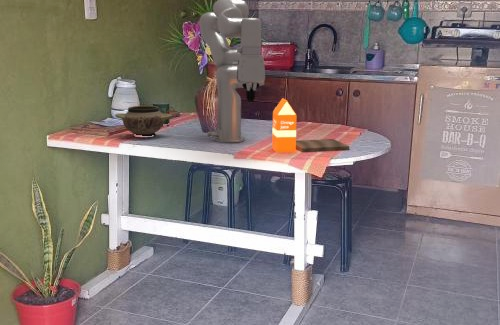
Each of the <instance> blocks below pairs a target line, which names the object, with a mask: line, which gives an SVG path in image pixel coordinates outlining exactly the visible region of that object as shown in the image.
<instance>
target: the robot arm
mask: <svg viewBox="0 0 500 325" xmlns="http://www.w3.org/2000/svg"><path fill="white" fill-rule="evenodd" d="M212 7H213V8H212V10H213V11H208V12H204V13H203V14H201V16H200V17H199V30H200V34H201V36H202V39H203V40H204V42H205V43H206V45H207V46H208V48H209V52H210V54H211V57H212V60H213V62H214V64H215V67H216V68H217V70H216V72H215V78H216V79H215V80H216V86H217V95H218V96H217V101H218V102H217V103H218V105H217V106H218V107H217V113H218V114H217V115H218V116H217V119H218V122H217V124H218V127H217V128H216V130H214V131H207V132H206V136H207V137H214V141H215V142H219V143H226V144H228V143H229V144H231V143H232V144H233V143H241V142H244V141H245V136H243V135H241V134H242V132H241V128H242V98H241V96H240V94H239V93H238V91H237V90H236V89H244V90H245V97H246V98H245V99H246V100H247V102H254V100H256V90H257V89H258V88H259V87H261V86H264V85H265V80H266V68H265V59H264V55H261V54H262V44H261V43H262V40H261V39H262V23H261V22H262V21H261V19H260V18H258V17H257V18H256V17H248V15H249V5H248V4H247V2H246V1H245V0H217V1H215V2H214V4H213V6H212ZM227 39H240V46H239V47H238V46H230V44H229V41H228V40H227Z"/></svg>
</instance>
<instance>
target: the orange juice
mask: <svg viewBox="0 0 500 325" xmlns="http://www.w3.org/2000/svg"><path fill="white" fill-rule="evenodd" d="M275 107H276V108H275ZM275 107H274V109H275V110H273V111H272V130H271V131H272V138H271V139H272V140H271V142H272V144H271V147H272V150H274V152H276V153H296V150H297V149H296V141H297V114H296V112H295V111H294V109H293V108H292V106H291V105H290V104H289V102H288V100H287V99H285V98H281V100H280V101H279V102H278V103H277V106H275Z"/></svg>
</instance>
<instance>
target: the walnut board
mask: <svg viewBox="0 0 500 325" xmlns="http://www.w3.org/2000/svg"><path fill="white" fill-rule="evenodd" d="M296 150H297V151H299V152H301V153H313V152H315V153H317V151H318V152H336V151H350V145H347V144H346V143H343V142H341V141H339V140H336V139H335V138H332V139H331V138H326V139H325V138H323V139H303V140H302V139H301V140H299V139H298V140H296Z"/></svg>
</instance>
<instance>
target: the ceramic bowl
mask: <svg viewBox="0 0 500 325" xmlns="http://www.w3.org/2000/svg"><path fill="white" fill-rule="evenodd" d="M127 110H128V111H126V113H123V112H122V113H121V112H120V113H119V112H118V113H115V114H114V117H116V118H117V119H121V120H122V123H123V125H124V127H125V128H126V129H127V130H128V131H129V132H130V133H131V134H133V135H134V134H136V135H142V136H152V135H156V133H157V132H158V131H160V130H161V129H162V128H163V127H162V126H163V124H164V121H165V120H166V119H169V120H170V119H172V118H173V114H171V113H169V114H162V113H161V112H160V111H159V107H157V106H153V105H135V106H129V107H128V108H127Z"/></svg>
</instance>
